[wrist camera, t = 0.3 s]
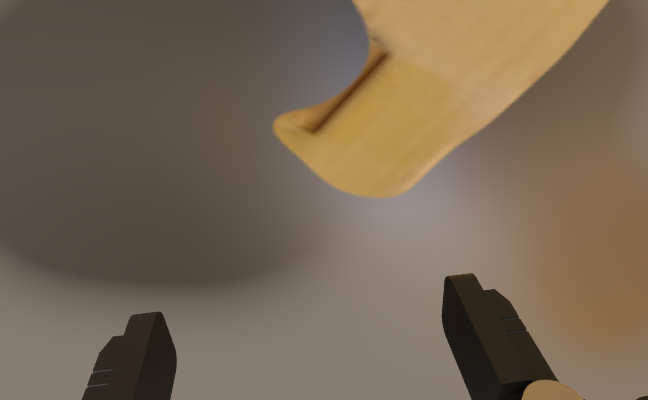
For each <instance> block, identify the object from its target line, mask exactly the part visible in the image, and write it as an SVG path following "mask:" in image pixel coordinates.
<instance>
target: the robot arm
mask: <svg viewBox="0 0 648 400" xmlns="http://www.w3.org/2000/svg"><path fill="white" fill-rule="evenodd" d="M442 323H443V328H444V332H445V335H446V338H447V341H448V343H449V345H450V348H451V350H452V353H453V355H454V358H455V360H456V362H457V365H458V367H459V370H460V372H461V374H462V377H463V379H464V382H465V384H466V387H467V389H468V392H469V394H470V397H471V399H472V400H584V399H583V398H582V397H581V396H580V395H579V394H578V393H577V392H576V391H575V390H573V389H572V388H570V387H569V386H567V385H565V384H563V383H560V382H559V381H558V380H557V378H556V377H555V375H554V374H553V372H552V371H551V369H550V367H549V365H548V364H547V362H546V361H545V359H544V357H543V356H542V354H541V352H540V351H539V349H538V348H537V346H536V344H535V343H534V341H533V339H532V337H531V336H530V334H529V332H527V331H526V327H525V326H524V324H523V323H522V321H521V320H520V319H519V316H518V314H517V313H516V311H515V309H514V308H513V306H512V304H511V303H510V301H508V300H507V299H506V298H505V297H504V296H502V295H501V294H500V293H499V292H497V291H496V290H495V289H491V290H484V291H483V289H482V287H481V285H480V283H479V282H478V280H477V278H476V276H475V275H474V274H473V273H470V274H461V275H453V276H447V277H446V278H445V282H444V294H443V307H442ZM176 365H177V358H176V350H175V347H174V344H173V341H172V338H171V335H170V333H169V330H168V327H167V325H166V322H165V319H164V316H163V314H162V313H161V312H151V313H143V314H136V315H132V316H131V317H130V319H129V321H128V324H127V327H126V331H125V333H124V335H122V336H115V337H112V339H111V340H110V341H109V342H108V344H107V345H106V346H105V347H104V348H103V349H102V351H101V352H100V353H99V356H98V358H97V361H96V364H95V367H94V369H93V374H91V377H90V379H89V382H88V388H87V389H86V390H85V393H84V395H83V398H82V400H170V398H171V393H172V388H173V383H174V378H175V373H176ZM636 400H648V396H644V397H640V398H638V399H636Z"/></svg>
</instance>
